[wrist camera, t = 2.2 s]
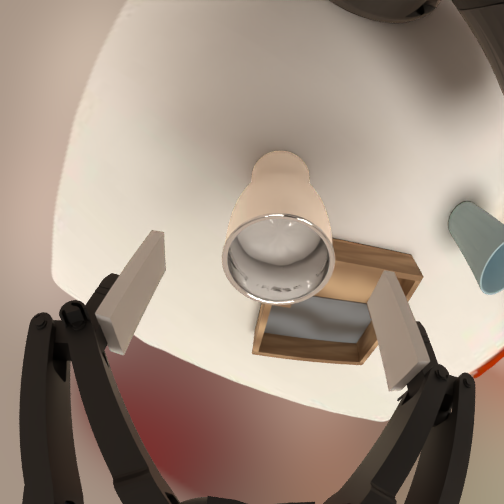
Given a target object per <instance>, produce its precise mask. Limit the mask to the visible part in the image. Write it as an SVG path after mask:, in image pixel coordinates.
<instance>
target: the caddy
mask: <svg viewBox="0 0 504 504" xmlns="http://www.w3.org/2000/svg"><path fill="white" fill-rule="evenodd" d="M332 240H333V248H334V252H335V267H334V271H333V274H332V276H331V278H330V280H329V281H328V283H327V284H326V285H325V286H324V288H323V289H322V290H320V291H319V292H318V293H317V294H315V295H314V296H312V297H310V298H309V299H306V300H304V301H301V302H298V303H294V304H289V305H270V304H264V303H262V304H261V308H260V312H259V316H258V320H257V324H256V328H255V333H254V342H253V350H252V354H255V355H262V356H269V357H276V358H284V359H292V360H301V361H311V362H322V363H335V364H350V365H362V364H363V363H364V362H365V361H366V360H367V358H368V357H369V356H370V355H371V353H372V352H373V351H374V349H375V348H376V347H377V345H378V341H377V337H376V333H375V329H374V326H373V322H372V318H371V315H370V311H369V308H368V305H367V302H368V300H369V298H370V296H371V294H372V292H373V291H374V289H375V287H376V285H377V283H378V281H379V279H380V277H381V275H382V273H383V271H384V270H386V271H391V272H394V273H395V275H396V277H397V279H398V281H399V283H400V286H401V288H402V290H403V292H404V294H405V297H406V299H407V301H409V300H410V298H411V296H412V295H413V293H414V292H415V290H416V288H417V287H418V285H419V283H420V282H421V280H422V278H423V275H422V273H421V271H420V269H419V268H418V266H417V264H416V262H415V261H414V259H413V257H412V255H410V254H405V253H401V252H396V251H391V250H387V249H382V248H378V247H373V246H368V245H363V244H359V243H354V242H349V241H344V240H339V239H334V238H332Z"/></svg>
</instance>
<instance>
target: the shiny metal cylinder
mask: <svg viewBox="0 0 504 504" xmlns="http://www.w3.org/2000/svg"><path fill="white" fill-rule="evenodd" d="M251 180H252V182H251V183H250V184H249V185H248V186H247V187H246V188H245V190H244V191H243V192H242V194H241V195H240V196H239V198H238V200H237V202H236V204H235V206H234V209H233V211H232V214H231V217H230V221H229V224H228V229H227V234H226V240H225V244H224V247H223V251H222V265H223V269H224V272H225V275H226V277H227V278H228V280H229V282H230V283H231V284H232V285H233V286H234V287H235V288H236V289H237V290H238V291H239V292H240V293H242V294H243V295H245V296H246V297H248V298H250V299H252V300H255V301H257V302H261V303H264V304H270V305H289V304H294V303H298V302H301V301H304V300H306V299H309V298H310V297H312V296H314V295H315V294H317V293H318V292H319V291H320V290H322V289H323V288H324V286H325V285H326V284H327V283H328V281H329V280H330V278H331V276H332V274H333V271H334V267H335V252H334V248H333V240H332V233H331V227H330V222H329V218H328V214H327V212H326V209H325V206H324V204H323V202H322V200H321V198H320V196H319V195H318V193H317V192H316V190H315V189H314V188H313V187H312V185H311V184H310V183H309V182H310V175H309V170H308V168H307V166H306V164H305V163H304V161H303V160H302V159H301V158H300V157H298V156H297V155H295V154H293V153H291V152H288V151H273V152H270V153H267V154H265V155H264V156H262V157H261V158H260V159H259V160H258V161H257V162H256V164H255V165H254V168H253V170H252V176H251Z"/></svg>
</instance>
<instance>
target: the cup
mask: <svg viewBox="0 0 504 504" xmlns="http://www.w3.org/2000/svg"><path fill="white" fill-rule="evenodd" d="M449 231H450V233H451V235H452V237H453V238H454V240H455V242H456V243H457V245H458V247H459V248H460V250H461V252H462V254H463V255H464V257H465V259H466V261H467V263H468V265H469V266H470V268H471V270H472V272H473V274H474V276H475V278H476V280H477V282H478V284H479V286H480V289H481V290H482V292H483V293H485V294H488V295H492V294H496V293H498V292H500V291H502V290H503V289H504V224H503V223H501V222H500V221H498V220H497V219H496V218H494V217H493V216H492V215H490V214H489V213H487V212H486V211H484V210H483V209H481V208H480V207H478V206H477V205H475V204H474V203H472V202H463V203H461V204H459V205H458V206H457V207H456V208H455V209H454V210H453V212H452V213H451V216H450V218H449Z"/></svg>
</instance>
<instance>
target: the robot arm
mask: <svg viewBox="0 0 504 504" xmlns="http://www.w3.org/2000/svg"><path fill="white" fill-rule="evenodd" d="M330 1H331V2H333V3H335V4H336V5H338V6H340V7H342V8H343V9H345V10H347V11H349V12H352V13H354V14H356V15H359V16H362V17H365V18H368V19H371V20H375V21H380V22H387V23H404V22H410V21H413V20H416V19H419V18H421V17H424V16H426V15H428V14H430V13H431V12H432V11H433V10H434V9H436V7H437V6H438V5H439V3H440V1H441V0H330ZM452 2H453V3H454V5H455V6H456V7H457V9H458V11H459V12H460V14H461V15H462V17H463V18H464V20H465V21H466V23H467V24H468V26H469V27H470V29H471V30H472V32H473V34H474V35H475V37H476V39H477V40H478V42H479V44H480V45H481V47H482V49H483V51H484V53H485V55H486V57H487V59H488V61H489V63H490V65H491V67H492V69H493V71H494V74H495V76H496V78H497V80H498V83H499V85H500V88H501V90H502V93H503V95H504V0H452ZM165 271H166V263H165V245H164V232H160V231H154V230H152V231H151V232H150V233H149V235H148V236H147V237H146V239H145V240H144V241H143V243H142V244H141V246H140V247H139V248H138V250H137V251H136V252H135V254H134V255H133V257H132V258H131V259H130V261H129V262H128V264H127V265H126V267H125V268H124V269H123V271H122V272H121V274H120V275H117V274H113V273H111V274H110V275H108V276H107V277H105V278H104V279H103V280H102V282H101V283H100V285H99V287H98V288H97V289H96V290H95V293H93V295H92V296H91V298H90V299H89V301H88V302H87V304H86V305H84V303H82V302H81V301H77V300H73V301H69V302H67V303H65V304H64V305H63V306H62V307H61V309H60V312H59V316H60V318H61V320H62V321H61V320H53V319H52V318H51V316H50V315H49V314H48V313H44V312H43V313H38V314H37V315H35V316H34V317H33V318H32V320H31V322H30V325H29V330H28V335H27V341H26V347H25V354H24V360H23V369H22V378H21V391H20V415H19V418H20V419H19V420H20V423H19V424H20V448H21V461H22V470H23V477H24V484H25V486H24V493H23V502H22V504H84V502H83V493H82V487H81V483H80V477H79V472H78V467H77V461H76V455H75V447H74V439H73V430H72V419H71V401H70V361H72V364H73V369H74V373H75V377H76V381H77V384H78V388H79V391H80V395H81V398H82V401H83V405H84V408H85V411H86V414H87V416H88V420H89V423H90V425H91V428H92V431H93V433H94V436H95V438H96V441H97V443H98V446H99V448H100V451H101V453H102V455H103V457H104V460H105V462H106V464H107V466H108V468H109V470H110V472H111V475H112V477H113V485H114V488H115V490H116V492H117V494H118V496H119V498H120V500H121V502H122V503H123V504H246V503H243V502H240V501H237V500H232V499H224V498H218V497H211V496H208V497H201V498H194V499H190V500H187V501H184V502H181V503H180V502H179V500H178V499H177V497H176V496H175V495H174V493H173V491H172V490H171V488H170V487H169V486H168V484H167V483H166V481H165V480H164V479H163V478H162V476H161V474H160V473H159V471H158V469H157V468H156V466H155V464H154V463H153V461H152V459H151V457H150V455H149V454H148V452H147V450H146V448H145V446H144V444H143V443H142V440H141V438H140V436H139V434H138V432H137V430H136V429H135V426H134V424H133V422H132V420H131V418H130V415H129V413H128V411H127V409H126V407H125V404H124V402H123V399H122V397H121V394H120V392H119V390H118V387H117V384H116V382H115V379H114V377H113V374H112V371H111V368H110V365H109V363H108V360H107V356H106V353H105V351H104V350H105V348H106V346H107V345H108V347H109V349H110V351H112V352H115V353H118V354H121V355H124V354H125V352H126V350H127V348H128V345H129V343H130V341H131V339H132V337H133V335H134V332H135V330H136V328H137V326H138V324H139V322H140V320H141V318H142V316H143V314H144V312H145V310H146V308H147V306H148V304H149V302H150V300H151V298H152V296H153V294H154V292H155V290H156V288H157V286H158V284H159V282H160V280H161V278H162V276H163V274H164V272H165ZM367 305H368V308H369V311H370V315H371V318H372V322H373V326H374V329H375V333H376V337H377V341H378V345H379V349H380V353H381V357H382V361H383V366H384V370H385V375H386V379H387V384H388V389H389V391H400V390H402V389H403V388H404V387H405V386H406V385H407V388H408V390H407V391H406V392H405V393H404V394H403V395H402V396H401V397H399V398H398V400H397V401H399V400H400V399H401V401H400V403H399V405H398V407H397V408H396V410H395V412H394V414H393V415H392V417H391V419H390V421H389V422H388V424H387V426H386V427H385V429H384V430H383V432H382V434H381V435H380V437H379V438H378V440H377V441H376V443H375V444H374V446H373V447H372V449H371V450H370V452H369V453H368V454H367V456H366V457H365V459H364V460H363V461H362V463H361V464H360V465H359V467H358V468H357V469H356V471H355V472H354V473H353V474H352V476H351V477H350V478H349V479H348V481H347V482H346V483H345V484H344V486H343V487H342V488H341V489H340V490H339V491H338V492H337V493H335V494H334V495H332V496H331V497H330V498H328V499H327V500H326V502H324V503H323V504H396V500H395V496H396V494H397V492H398V491H399V489H400V487H401V486H402V484H403V483H404V481H405V479H406V477H407V476H408V474H409V472H410V471H411V468H412V467H413V465H414V463H415V461H416V460H417V457H418V456H419V454H420V452H421V454H420V458H419V461H418V465H417V468H416V472H415V475H414V478H413V481H412V484H411V487H410V490H409V492H408V495H407V498H406V500H405V503H404V504H459V502H460V498H461V495H462V491H463V487H464V483H465V478H466V473H467V469H468V463H469V458H470V451H471V444H472V436H473V426H474V412H475V381H474V379H473V377H471V375H470V374H468V373H462V374H461V375H460V376H459V377H454V376H451V375H449V373H448V371H447V369H446V368H445V367H444V366H442V365H440V364H438V363H437V360H436V357H435V354H434V351H433V348H432V346H431V343H430V340H429V338H428V335H427V333H426V330H425V328H424V327H423V326H422V324H421V323H420V322H418V321H415V318H414V316H413V313H412V311H411V308H410V306H409V304H408V301H407V299H406V297H405V294H404V292H403V290H402V288H401V286H400V283H399V281H398V279H397V277H396V275H395V273H394V272H391V271H386V270H384V271H383V273H382V275H381V277H380V279H379V281H378V283H377V285H376V287H375V289H374V291H373V292H372V294H371V296H370V298H369V300H368V302H367ZM451 409H452V412H451ZM280 504H315V502H304V503H303V502H301V503H280Z"/></svg>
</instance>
